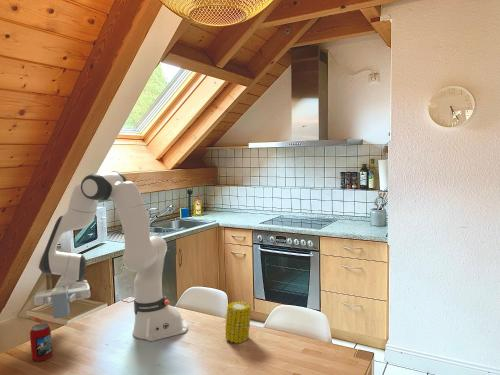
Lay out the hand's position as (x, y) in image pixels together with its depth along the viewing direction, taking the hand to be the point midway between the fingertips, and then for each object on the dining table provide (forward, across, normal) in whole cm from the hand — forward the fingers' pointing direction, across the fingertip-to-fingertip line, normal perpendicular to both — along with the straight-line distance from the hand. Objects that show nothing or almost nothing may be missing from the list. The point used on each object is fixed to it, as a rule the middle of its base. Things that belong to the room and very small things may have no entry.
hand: (60, 301), depth 154 cm
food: (+15, +65, +20) cm, 70 cm away
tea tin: (-1, 0, +6) cm, 6 cm away
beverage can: (+4, -7, +19) cm, 21 cm away
